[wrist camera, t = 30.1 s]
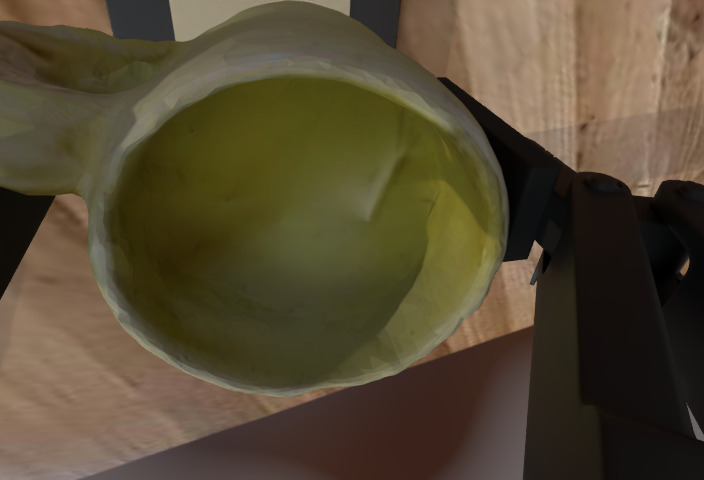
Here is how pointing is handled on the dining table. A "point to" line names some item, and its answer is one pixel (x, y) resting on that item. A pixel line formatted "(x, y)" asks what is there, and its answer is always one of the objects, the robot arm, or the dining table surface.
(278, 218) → the mug
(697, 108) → the dining table surface
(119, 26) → the black board
